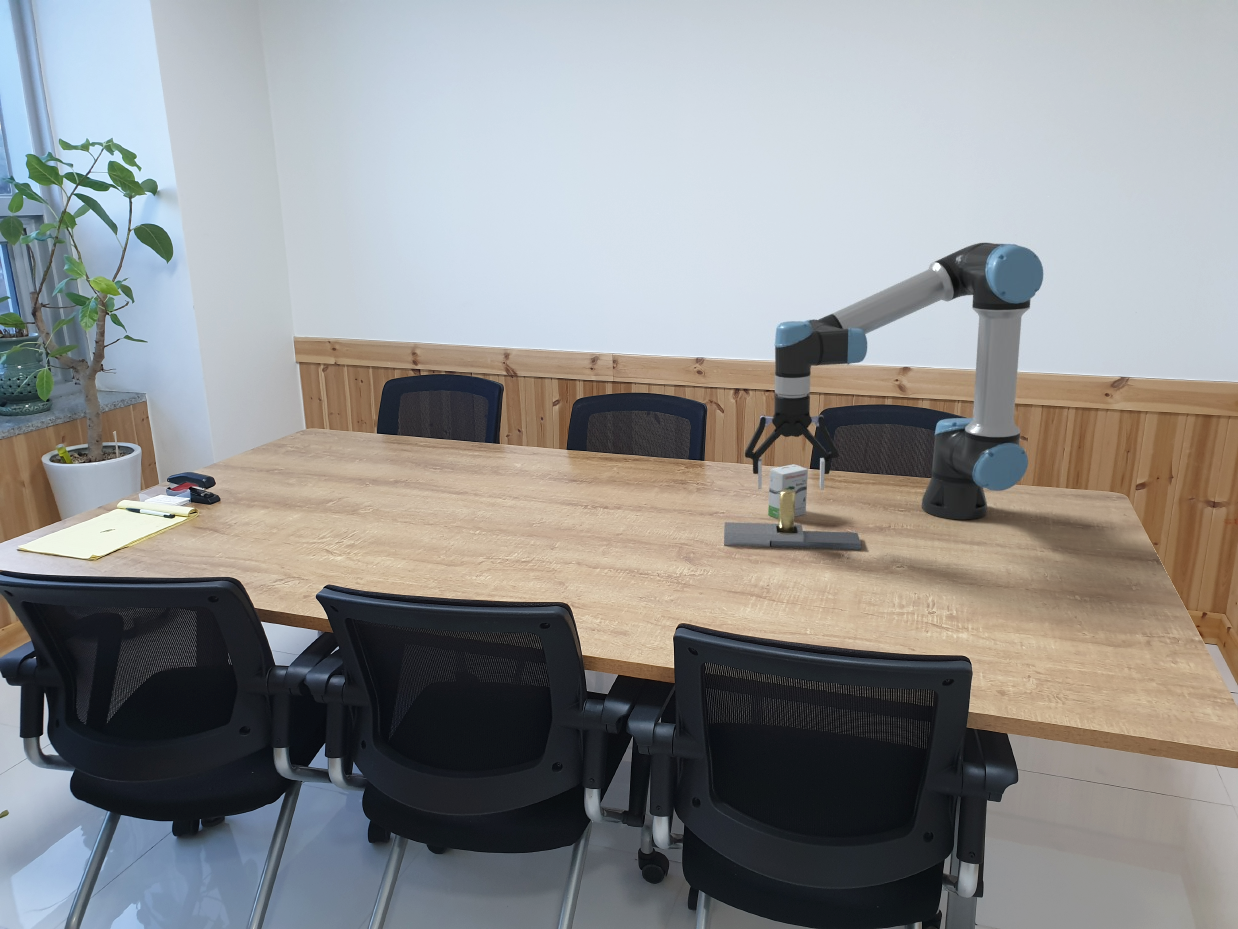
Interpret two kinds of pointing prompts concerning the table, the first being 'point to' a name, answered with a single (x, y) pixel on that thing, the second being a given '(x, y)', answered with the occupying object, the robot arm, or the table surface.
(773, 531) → the chain end grey
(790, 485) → the ink box
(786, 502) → the pin
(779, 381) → the robot arm
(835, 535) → the chain end dark
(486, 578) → the table surface
